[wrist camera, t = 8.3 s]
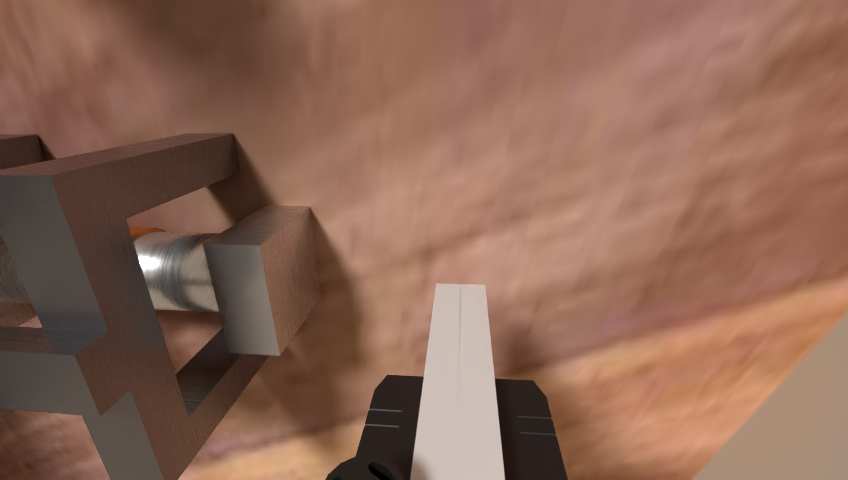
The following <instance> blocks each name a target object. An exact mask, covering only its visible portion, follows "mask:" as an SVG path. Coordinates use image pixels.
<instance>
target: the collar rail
mask: <svg viewBox="0 0 848 480" xmlns="http://www.w3.org/2000/svg"><path fill="white" fill-rule="evenodd" d="M238 173H240V170H239V164H238V159H237V154H236V149H235V144H234V139H233V134H183V135H178V136H173V137H168V138H163V139H157V140H152V141H147V142H142V143H137V144H132V145H126V146H121V147H116V148H111V149H106V150H101V151H95V152H90V153H85V154H80V155H75V156H70V157H64V158H59V159H54V160H49V161H46V158H45V155H44V153H43V150H42V147H41V144H40V142H39V139H38V136H37V135H0V233H1V235H2V237H3V239H4V242H5V244H6V246H7V248H8V250H9V253H10V255H11V257H12V259H13V262H14V264H15V266H16V268H17V271H18V273H19V275H20V277H21V280H22V282H23V284H24V286H25V289H26V291H27V293H28V295H29V298H30V300H31V302H32V304H33V307H34V309H35V311H36V313H37V316H38V318H39V320H40V322H41V325H42V327H41V328H30V327H12V326H0V421H1V420H2V419H4V418H5V417H7V416H8V415H9V414H11V413H12V412H13V411H15V410H24V411H36V412H48V413H61V414H73V415H82V416H83V419H84V421H85V423H86V425H87V428H88V430H89V432H90V434H91V437H92V439H93V441H94V443H95V446H96V448H97V450H98V452H99V455H100V457H101V459H102V461H103V464H104V466H105V468H106V470H107V473H108V475H109V477H110V479H111V480H178V479H179V477H180V476H181V475H182V473H183V472H184V470H185V469H186V468H187V466H188V465H189V464H190V462H191V461H192V460H193V458H194V457H195V456H196V454H197V453H198V451H199V450H200V449H201V447H202V446H203V445H204V443H205V442H206V441H207V439H208V438H209V436H210V435H211V434H212V432H213V431H214V430H215V428H216V427H217V426H218V424H219V423H220V422H221V420H222V419H223V417H224V416H225V415H226V413H227V412H228V411H229V409H230V408H231V407H232V405H233V404H234V402H235V401H236V400H237V398H238V397H239V396H240V394H241V393H242V392H243V390H244V389H245V388H246V386H247V385H248V383H249V382H250V381H251V379H252V378H253V377H254V375H255V374H256V373H257V371H258V370H259V369H260V367H261V366H262V364H263V363H264V362H265V360H266V359H267V358H268V356H269V355H258V354H242V353H229V350H228V346H227V342H226V338H225V334H224V330H223V328H222V329H221V330H220V331H219V332H218V333H217V334H216V335H215V336H214V337H213V338H212V339H211V340H210V341H209V342H208V343H207V344H206V345H205V346H204V347H203V348H202V349H201V350H200V351H199V352H198V353H197V354H196V355H195V356H194V357H193V358H192V359H191V360H190V361H189V362H188V363H187V364H186V365H185V366H184V367H183V368H182V369H181V370H180V371H179V372H178V373H177V374H176V375H175V372H174V369H173V366H172V363H171V360H170V357H169V353H168V350H167V347H166V344H165V341H164V337H163V334H162V331H161V328H160V325H159V322H158V318H157V315H156V312H155V309H154V306H153V303H152V299H151V296H150V293H149V290H148V287H147V284H146V280H145V277H144V274H143V271H142V268H141V265H140V261H139V258H138V255H137V252H136V249H135V246H134V242H133V239H132V236H131V233H130V230H129V226H128V223H127V220H126V218H129V217H131V216H134V215H136V214H139V213H141V212H144V211H146V210H148V209H151V208H153V207H156V206H158V205H161V204H163V203H166V202H168V201H171V200H173V199H176V198H178V197H181V196H183V195H186V194H188V193H191V192H193V191H196V190H198V189H200V188H203V187H205V186H208V185H210V184H213V183H215V182H218V181H220V180H223V179H225V178H228V177H230V176H233V175H235V174H238Z"/></svg>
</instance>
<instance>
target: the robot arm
mask: <svg viewBox="0 0 848 480" xmlns="http://www.w3.org/2000/svg"><path fill="white" fill-rule="evenodd" d="M325 480H568V479H567V475H566V471H565V468H564V464H563V460H562V456H561V452H560V448H559V444H558V441H557V437H556V435H555V429H554V425H553V421H552V420H551V414H550V410H549V406H548V402H547V398H546V396H545V395H544V394H543V392H542V391H541V390H540V389H539V387H538V386H537V385H536V384H535V382H534V381H530V380H509V379H495V378H494V368H493V358H492V349H491V339H490V329H489V320H488V310H487V300H486V290H485V285H469V284H436V289H435V297H434V304H433V312H432V319H431V327H430V334H429V342H428V349H427V357H426V364H425V372H424V377H419V376H399V375H387V376H386V377H385V378H384V379H383V381H382V382H381V383H380V384H379V385H378V386H377V388H376V389H375V391H374V394H373V398H372V401H371V405H370V410H369V412H368V415H367V419H366V422H365V427H364V429H363V433H362V436H361V440H360V443H359V447H358V450H357V454H356V457H354V458H351V459H349V460H347V461H345V462H343V463H341V464H339V465H338V466H337V467H336V468H335V469H334V470H333V471H332V472H331V473H329V474H328V476H327V478H326V479H325Z"/></svg>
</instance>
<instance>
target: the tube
mask: <svg viewBox="0 0 848 480" xmlns="http://www.w3.org/2000/svg"><path fill="white" fill-rule="evenodd" d="M129 230H130V233H131V236H132V239H133V242H134V246H135V249H136V252H137V255H138V258H139V261H140V265H141V268H142V271H143V274H144V277H145V280H146V284H147V287H148V290H149V293H150V296H151V299H152V303H153V306H154V309H155V311H157V310H179V311H199V312H219V314H220V318H221V322H222V326H223V330H224V334H225V338H226V342H227V346H228V350H229V353H242V354H258V355H274V356H280V355H281V354H282V352H283V351H284V349H285V348H286V346H287V345H288V344H289V342H290V341H291V339H292V338H293V336H294V335H295V334H296V332H297V331H298V329H299V328H300V326H301V325H302V323H303V322H304V321H305V319H306V318H307V316H308V315H309V313H310V312H311V311H312V309H313V308H314V306H315V305H316V303H317V302H318V301H319V299H320V298H321V289H320V281H319V273H318V266H317V258H316V250H315V243H314V235H313V227H312V220H311V212H310V206H264V207H263V208H261V209H259V210H258V211H256V212H254V213H253V214H251V215H250V216H248V217H246V218H245V219H243V220H241V221H240V222H238V223H236V224H235V225H233V226H232V227H230V228H228V229H227V230H225V231H223V232H222V233H187V232H166V231H164V230H162V229H158V228H131V227H129ZM36 316H37V313H36V311H35V309H34V307H33V304H32V302H31V300H30V298H29V295H28V293H27V291H26V289H25V286H24V284H23V282H22V280H21V277H20V275H19V273H18V271H17V268H16V266H15V264H14V262H13V259H12V257H11V255H10V253H9V250H8V248H7V246H6V244H5V242H4V239H3V237H2V235H1V233H0V326H12V327H18V326H20V325H21V324H23V323H25V322H27V321H29V320H31V319H32V318H34V317H36Z"/></svg>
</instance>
